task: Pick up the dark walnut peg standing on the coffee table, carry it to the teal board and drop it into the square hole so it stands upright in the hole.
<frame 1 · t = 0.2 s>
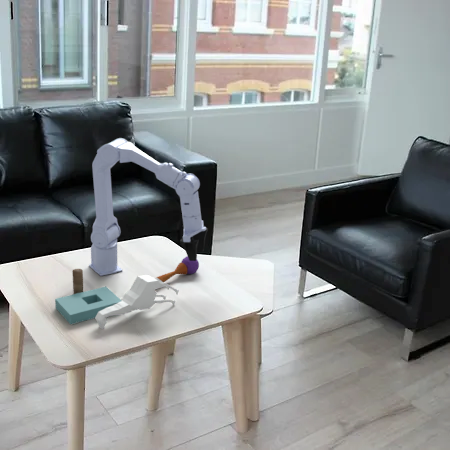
hand: (196, 255, 198), 11 cm above the table, tool pointing down, fingers open, 7 cm apart
socket board: (89, 309, 185), on the table
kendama: (174, 280, 206), on the table
horse figurine: (137, 315, 184), on the table
peg: (78, 294, 193), on the table
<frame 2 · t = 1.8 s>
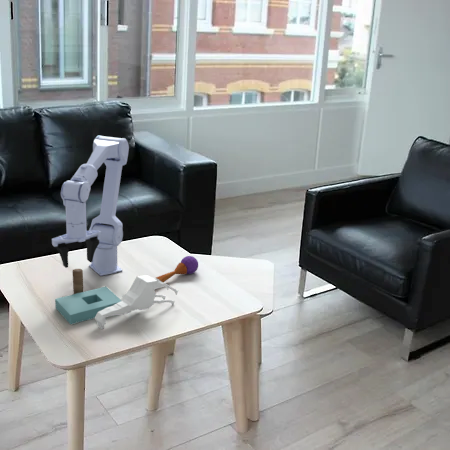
hand: (77, 263, 189), 10 cm above the table, tool pointing down, fingers open, 7 cm apart
nothing on the table moved.
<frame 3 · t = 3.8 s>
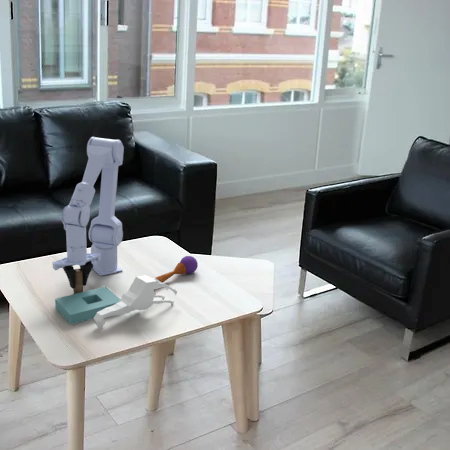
hand: (78, 286, 192), 3 cm above the table, tool pointing down, fingers closed on peg, 3 cm apart
peg: (78, 294, 193), on the table, touching gripper
everything else where it was.
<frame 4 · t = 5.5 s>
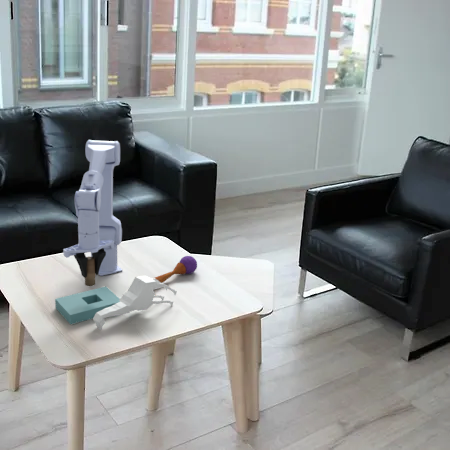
hand: (90, 274, 182), 11 cm above the table, tool pointing down, fingers closed on peg, 3 cm apart
peg: (90, 283, 183), point 8 cm above the table, touching gripper
everything else where it was.
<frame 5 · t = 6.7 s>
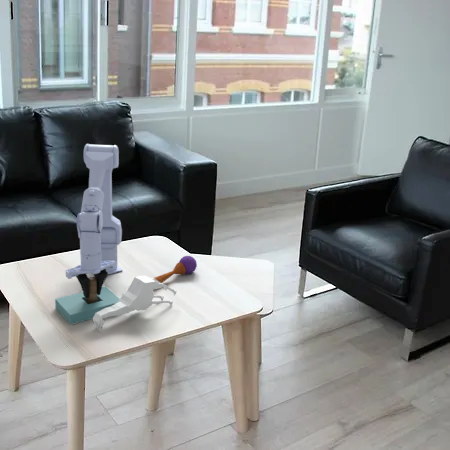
hand: (91, 295, 184), 4 cm above the table, tool pointing down, fingers closed on peg, 3 cm apart
peg: (92, 303, 185), point 1 cm above the table, touching gripper
everything else where it was.
when the fingers open (4 cm above the table, at t = 7.5 s): peg stays where it is, resting in socket board.
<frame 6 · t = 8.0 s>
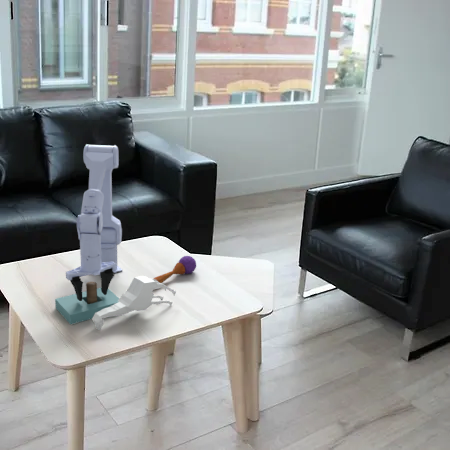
hand: (92, 296, 184), 4 cm above the table, tool pointing down, fingers open, 7 cm apart
peg: (92, 308, 185), resting in socket board
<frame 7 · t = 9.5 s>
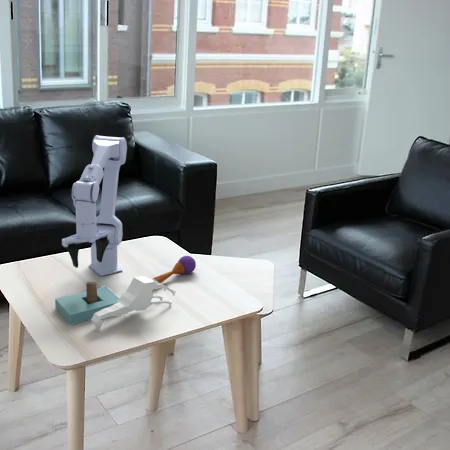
hand: (87, 263, 190), 10 cm above the table, tool pointing down, fingers open, 7 cm apart
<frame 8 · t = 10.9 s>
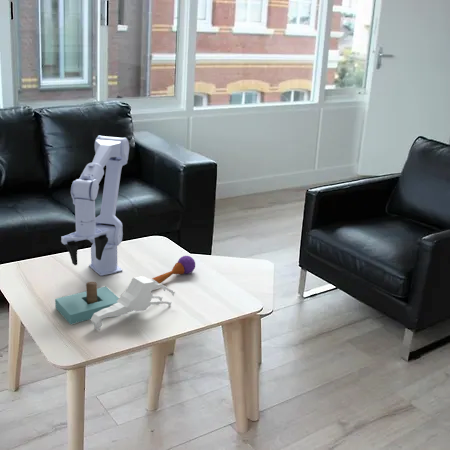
hand: (86, 261, 191), 10 cm above the table, tool pointing down, fingers open, 7 cm apart
at the end: peg 0.0 cm from the target spot on the socket board, point 0.0 cm above the socket board's base; peg tilted 0°; the gripper is holding nothing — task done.
